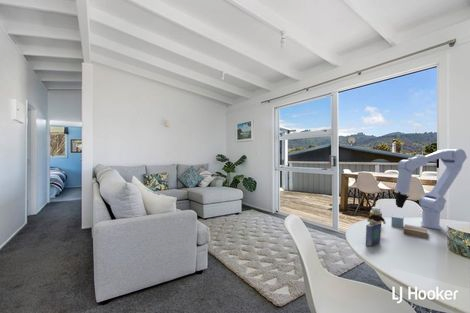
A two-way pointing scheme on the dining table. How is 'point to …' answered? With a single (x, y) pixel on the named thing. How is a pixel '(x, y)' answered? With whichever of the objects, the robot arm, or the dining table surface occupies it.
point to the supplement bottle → (373, 213)
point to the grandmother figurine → (376, 216)
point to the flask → (373, 233)
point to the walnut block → (415, 231)
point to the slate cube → (397, 221)
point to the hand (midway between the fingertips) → (398, 206)
